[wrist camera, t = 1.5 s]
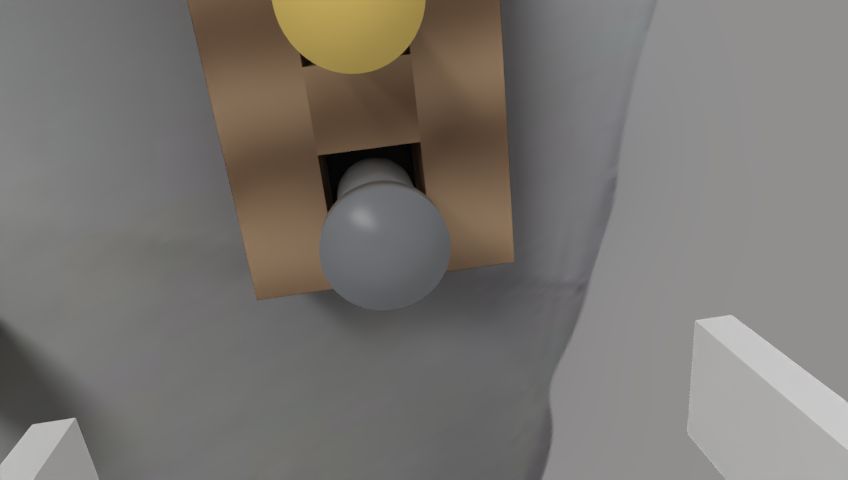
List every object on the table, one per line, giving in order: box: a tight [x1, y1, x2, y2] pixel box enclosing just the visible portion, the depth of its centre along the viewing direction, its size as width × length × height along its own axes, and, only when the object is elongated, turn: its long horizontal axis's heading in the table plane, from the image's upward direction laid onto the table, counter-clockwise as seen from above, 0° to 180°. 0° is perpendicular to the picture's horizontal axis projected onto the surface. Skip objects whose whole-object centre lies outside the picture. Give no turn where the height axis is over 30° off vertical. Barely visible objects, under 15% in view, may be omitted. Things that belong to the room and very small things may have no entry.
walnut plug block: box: [187, 0, 515, 300], centre depth 25 cm, size 24×12×5 cm, turn 6°
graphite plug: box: [319, 157, 451, 311], centre depth 23 cm, size 4×4×7 cm
